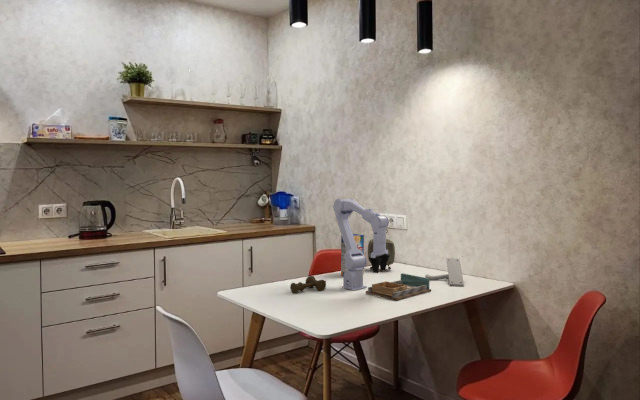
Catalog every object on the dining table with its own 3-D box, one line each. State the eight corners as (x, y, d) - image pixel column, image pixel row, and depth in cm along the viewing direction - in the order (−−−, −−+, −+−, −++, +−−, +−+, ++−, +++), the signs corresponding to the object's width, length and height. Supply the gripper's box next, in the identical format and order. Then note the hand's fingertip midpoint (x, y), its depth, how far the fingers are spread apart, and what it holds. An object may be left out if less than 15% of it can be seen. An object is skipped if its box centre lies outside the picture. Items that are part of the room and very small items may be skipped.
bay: (396, 300, 207) (396, 287, 207) (365, 293, 221) (365, 280, 220) (431, 291, 225) (431, 278, 225) (400, 284, 238) (400, 273, 238)
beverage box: (340, 275, 260) (341, 235, 258) (354, 273, 267) (354, 233, 266) (350, 277, 255) (350, 236, 254) (363, 274, 262) (364, 234, 261)
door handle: (462, 296, 239) (457, 270, 256) (463, 284, 235) (459, 258, 252) (426, 294, 242) (424, 268, 259) (427, 282, 238) (425, 256, 254)
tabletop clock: (392, 269, 279) (392, 226, 278) (395, 272, 270) (396, 228, 269) (367, 269, 278) (367, 226, 277) (370, 272, 269) (370, 228, 268)
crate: (392, 296, 210) (392, 289, 210) (371, 291, 219) (372, 284, 219) (406, 292, 217) (406, 285, 217) (385, 288, 226) (386, 281, 226)
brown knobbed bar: (286, 292, 224) (319, 285, 236) (298, 297, 216) (332, 289, 229) (286, 280, 223) (320, 273, 236) (298, 284, 216) (332, 277, 228)
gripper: (380, 244, 210) (380, 275, 211) (394, 240, 222) (393, 269, 223) (366, 243, 214) (366, 273, 214) (380, 239, 226) (380, 268, 227)
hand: (379, 271), depth 219 cm, fingers open, 7 cm apart
